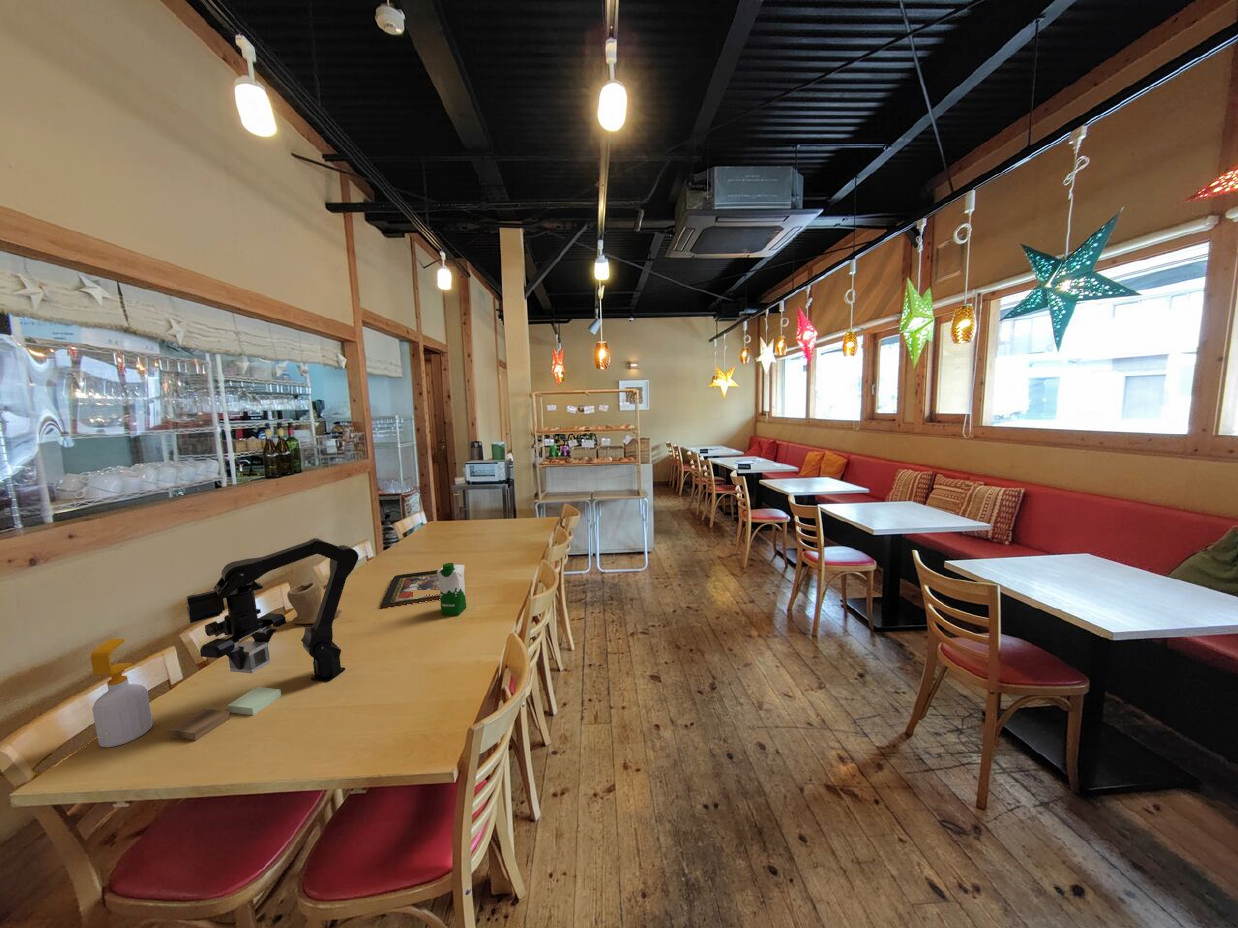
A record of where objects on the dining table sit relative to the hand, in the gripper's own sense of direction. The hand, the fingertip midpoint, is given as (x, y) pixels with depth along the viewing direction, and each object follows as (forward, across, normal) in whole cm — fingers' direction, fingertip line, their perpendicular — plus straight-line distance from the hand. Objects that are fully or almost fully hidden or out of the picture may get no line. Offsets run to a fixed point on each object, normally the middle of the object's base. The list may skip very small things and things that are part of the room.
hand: (250, 663), depth 121 cm
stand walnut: (+12, +10, -5) cm, 16 cm away
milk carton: (+12, -60, +24) cm, 66 cm away
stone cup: (+12, -45, -26) cm, 53 cm away
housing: (+1, 0, 0) cm, 1 cm away
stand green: (+12, 0, 0) cm, 12 cm away
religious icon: (+13, -81, -2) cm, 82 cm away
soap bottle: (+12, +15, -21) cm, 29 cm away
